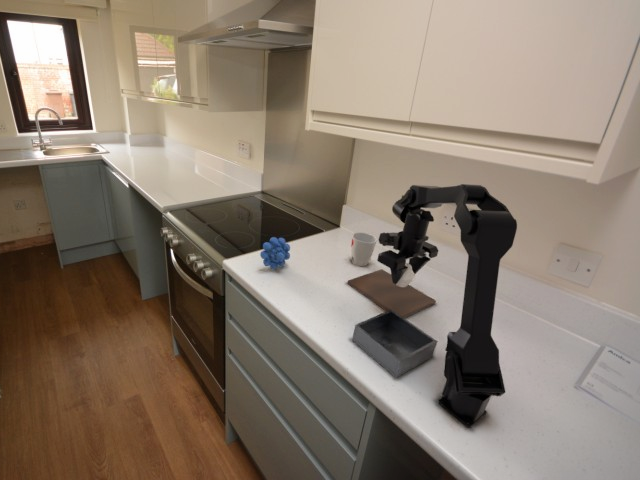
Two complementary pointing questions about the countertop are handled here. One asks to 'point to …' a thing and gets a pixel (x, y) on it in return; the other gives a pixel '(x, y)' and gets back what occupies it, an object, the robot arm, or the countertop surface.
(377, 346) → the dark grey open box
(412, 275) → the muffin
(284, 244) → the grapes
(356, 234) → the cup
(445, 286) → the countertop surface
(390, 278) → the board
